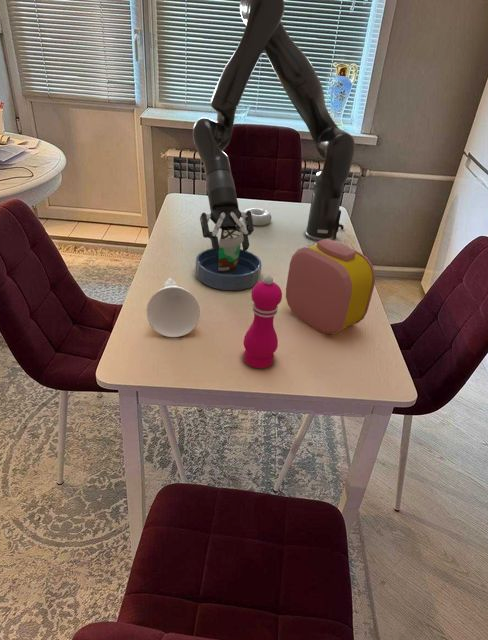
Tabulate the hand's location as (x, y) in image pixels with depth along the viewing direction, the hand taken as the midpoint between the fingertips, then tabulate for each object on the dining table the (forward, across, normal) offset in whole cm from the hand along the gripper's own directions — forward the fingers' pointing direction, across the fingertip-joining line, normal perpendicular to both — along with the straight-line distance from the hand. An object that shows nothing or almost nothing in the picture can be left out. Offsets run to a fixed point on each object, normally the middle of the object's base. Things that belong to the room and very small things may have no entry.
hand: (231, 250), depth 130 cm
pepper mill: (+32, -5, -20) cm, 38 cm away
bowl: (+5, 0, +7) cm, 8 cm away
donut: (-21, +22, +33) cm, 45 cm away
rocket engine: (+17, -18, -6) cm, 25 cm away
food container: (+3, 0, +5) cm, 5 cm away
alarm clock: (+23, +16, -12) cm, 30 cm away
